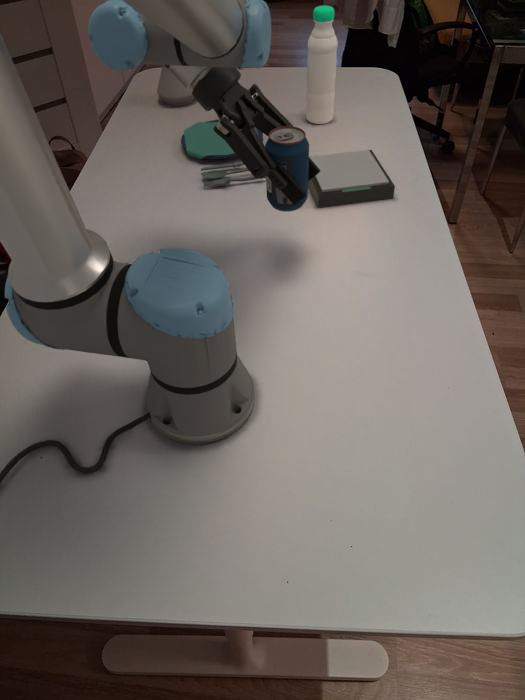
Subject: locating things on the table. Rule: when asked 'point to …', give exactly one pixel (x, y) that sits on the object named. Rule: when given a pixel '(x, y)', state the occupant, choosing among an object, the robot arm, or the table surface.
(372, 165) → the scale
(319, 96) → the water bottle
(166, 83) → the coffee pot
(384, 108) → the table surface
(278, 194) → the soda can
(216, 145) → the cutlery set
